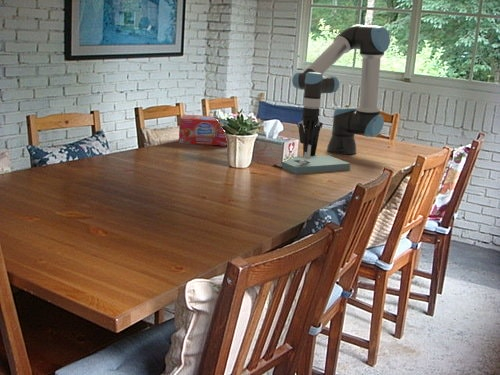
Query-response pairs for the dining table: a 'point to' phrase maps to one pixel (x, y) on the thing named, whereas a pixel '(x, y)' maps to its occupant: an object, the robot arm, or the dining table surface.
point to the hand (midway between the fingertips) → (306, 158)
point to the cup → (312, 149)
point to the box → (201, 130)
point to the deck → (315, 164)
